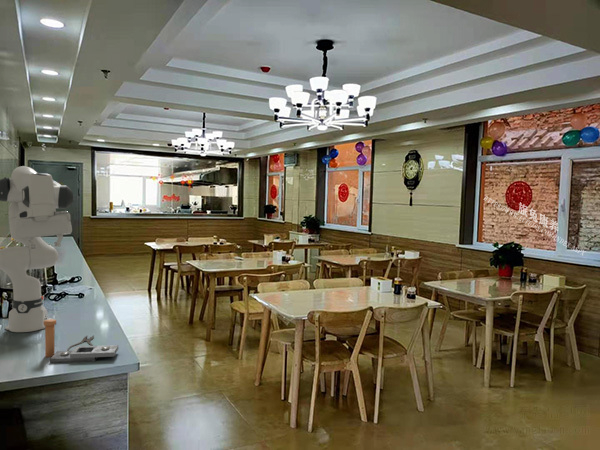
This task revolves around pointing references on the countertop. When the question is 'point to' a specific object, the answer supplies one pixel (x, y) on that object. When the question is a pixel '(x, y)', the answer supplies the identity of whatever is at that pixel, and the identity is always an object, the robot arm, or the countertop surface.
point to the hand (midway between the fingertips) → (45, 247)
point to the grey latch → (84, 354)
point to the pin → (49, 337)
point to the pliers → (83, 342)
